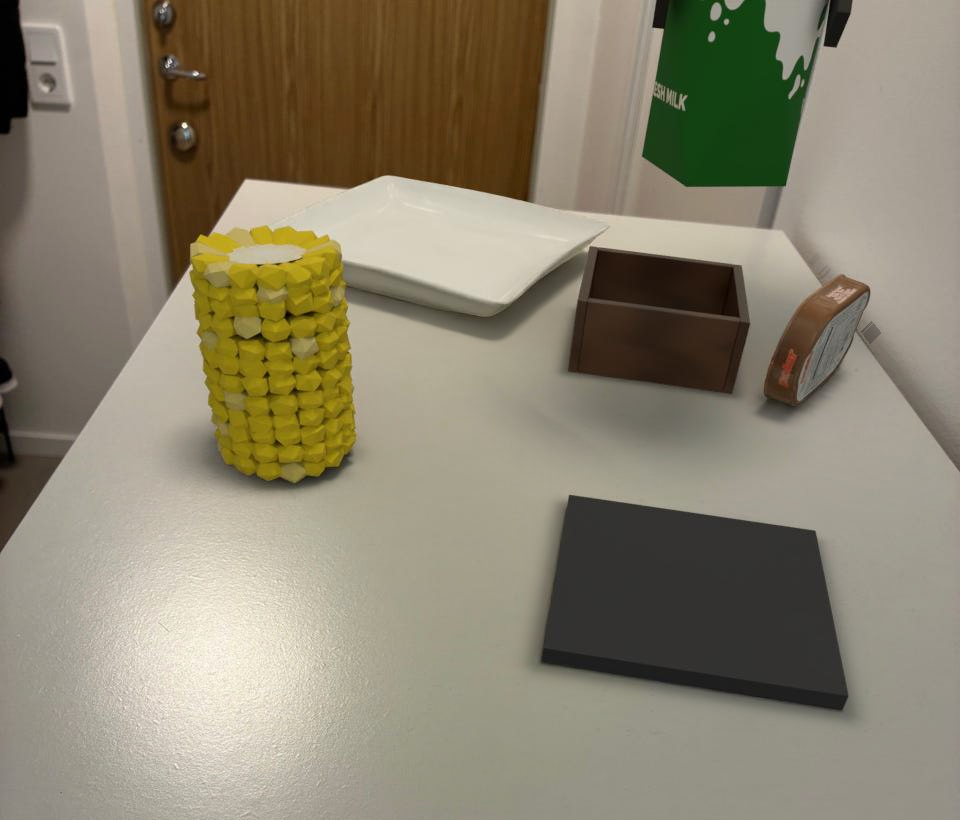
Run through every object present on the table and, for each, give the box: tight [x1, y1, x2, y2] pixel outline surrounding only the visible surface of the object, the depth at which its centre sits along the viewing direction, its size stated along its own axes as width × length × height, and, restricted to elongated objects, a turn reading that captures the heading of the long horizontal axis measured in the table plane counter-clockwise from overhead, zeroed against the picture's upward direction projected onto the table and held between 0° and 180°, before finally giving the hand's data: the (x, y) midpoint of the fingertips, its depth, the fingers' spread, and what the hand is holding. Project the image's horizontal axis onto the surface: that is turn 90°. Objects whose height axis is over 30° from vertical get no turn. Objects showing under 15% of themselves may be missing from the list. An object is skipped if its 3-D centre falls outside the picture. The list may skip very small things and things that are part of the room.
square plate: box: [267, 174, 611, 318], centre depth 97 cm, size 27×27×4 cm
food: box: [188, 224, 357, 485], centre depth 63 cm, size 15×12×10 cm
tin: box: [763, 273, 871, 407], centre depth 80 cm, size 15×3×8 cm, turn 145°
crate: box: [567, 245, 751, 394], centre depth 84 cm, size 14×14×6 cm
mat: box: [541, 494, 849, 710], centre depth 58 cm, size 16×16×1 cm
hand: (748, 20), depth 56 cm, fingers closed on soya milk, 9 cm apart
